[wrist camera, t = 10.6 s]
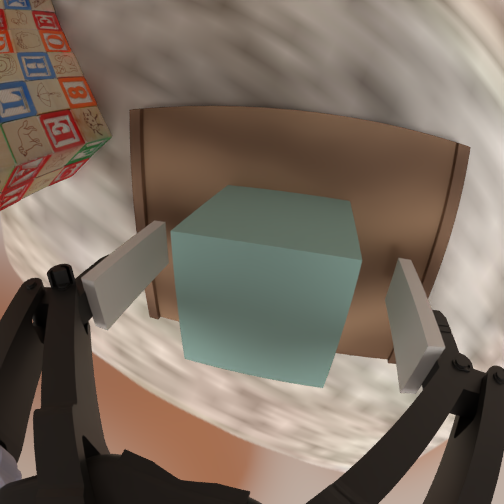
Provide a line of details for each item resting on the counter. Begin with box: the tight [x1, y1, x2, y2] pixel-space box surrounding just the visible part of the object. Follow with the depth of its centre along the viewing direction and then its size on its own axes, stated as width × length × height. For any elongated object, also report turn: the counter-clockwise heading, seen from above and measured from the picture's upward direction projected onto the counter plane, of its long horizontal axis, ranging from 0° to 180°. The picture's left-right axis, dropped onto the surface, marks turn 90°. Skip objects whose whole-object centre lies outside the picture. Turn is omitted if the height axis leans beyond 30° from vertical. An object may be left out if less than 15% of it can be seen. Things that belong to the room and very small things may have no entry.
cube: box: [170, 185, 362, 388], centre depth 15 cm, size 7×7×7 cm
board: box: [130, 106, 470, 364], centre depth 18 cm, size 16×20×2 cm
